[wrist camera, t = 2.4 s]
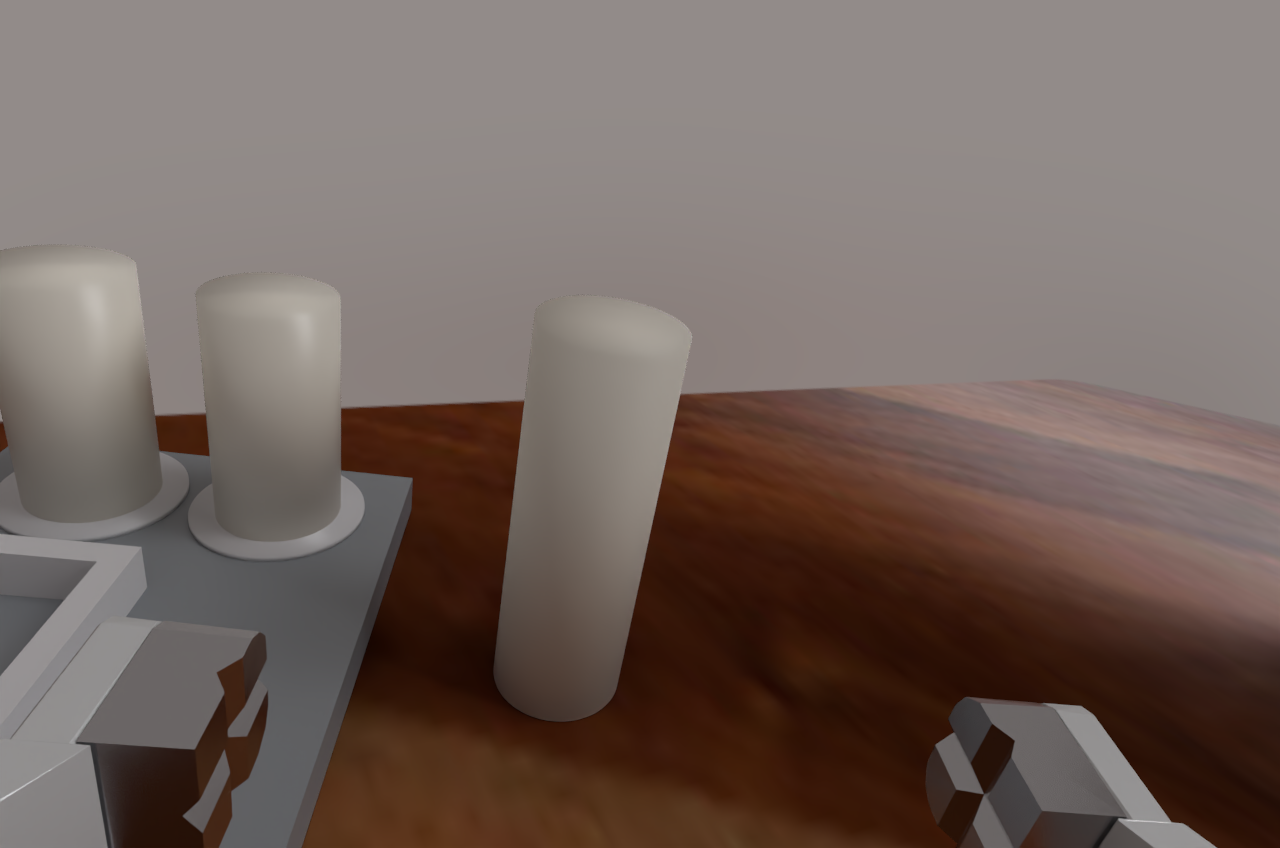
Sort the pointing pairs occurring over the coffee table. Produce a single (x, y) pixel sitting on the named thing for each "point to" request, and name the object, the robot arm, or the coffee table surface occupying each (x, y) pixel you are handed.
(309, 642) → the pin board
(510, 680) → the ivory pin
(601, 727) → the coffee table surface
